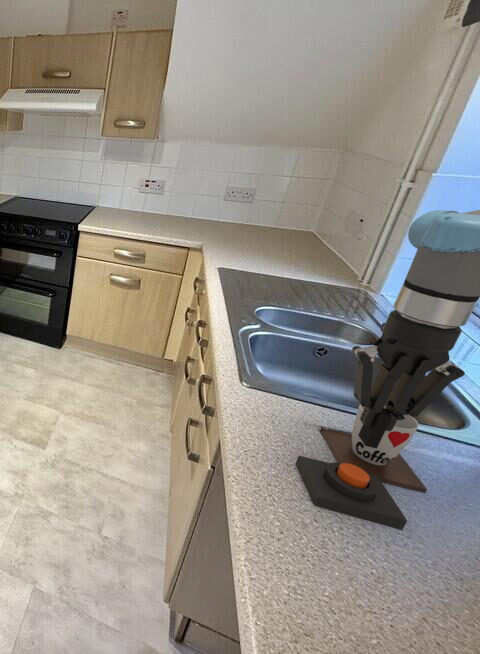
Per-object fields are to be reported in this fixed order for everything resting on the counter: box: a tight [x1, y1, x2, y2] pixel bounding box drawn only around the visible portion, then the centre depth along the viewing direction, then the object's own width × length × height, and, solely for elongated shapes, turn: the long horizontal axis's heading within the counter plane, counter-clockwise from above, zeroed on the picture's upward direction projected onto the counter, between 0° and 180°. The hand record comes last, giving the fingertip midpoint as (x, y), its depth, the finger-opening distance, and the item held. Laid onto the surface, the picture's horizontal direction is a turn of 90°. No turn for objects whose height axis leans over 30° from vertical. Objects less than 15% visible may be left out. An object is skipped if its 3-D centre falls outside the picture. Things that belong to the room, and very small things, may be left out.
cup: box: [351, 404, 420, 466], centre depth 80 cm, size 8×8×10 cm
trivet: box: [319, 427, 428, 494], centre depth 82 cm, size 12×12×1 cm
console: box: [295, 455, 408, 531], centre depth 73 cm, size 12×10×4 cm
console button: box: [337, 463, 370, 489], centre depth 73 cm, size 4×4×2 cm
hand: (367, 441), depth 70 cm, fingers closed
